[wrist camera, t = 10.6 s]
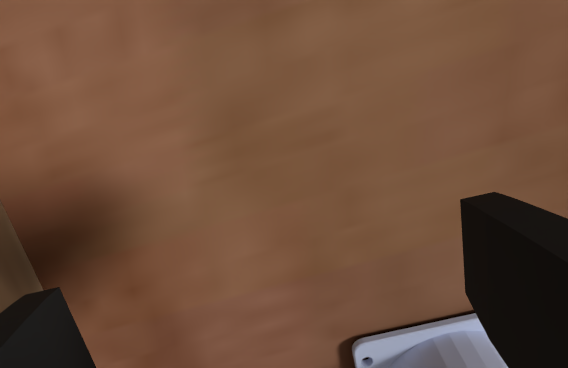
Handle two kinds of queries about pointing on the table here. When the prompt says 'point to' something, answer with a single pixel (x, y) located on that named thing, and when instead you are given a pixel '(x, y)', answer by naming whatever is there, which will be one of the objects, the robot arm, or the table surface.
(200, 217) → the table surface
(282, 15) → the table surface
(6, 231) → the walnut rail
